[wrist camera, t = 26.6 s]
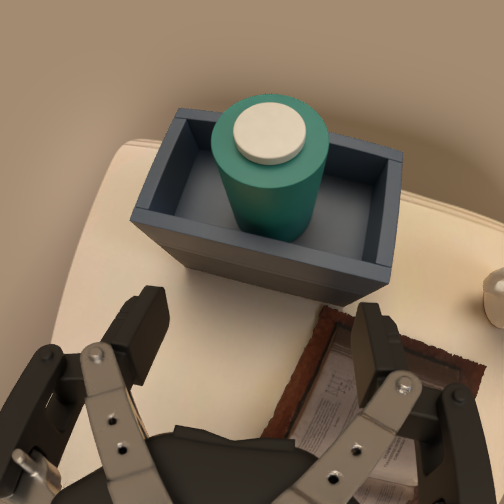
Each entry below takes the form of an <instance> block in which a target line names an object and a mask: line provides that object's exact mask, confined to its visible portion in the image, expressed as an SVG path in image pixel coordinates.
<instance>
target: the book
mask: <svg viewBox="0 0 504 504" xmlns="http://www.w3.org/2000/svg"><path fill="white" fill-rule="evenodd" d="M346 314H347V313H343V312H338V310H336V309H331V308H328V306H327V305H326V306H325V305H324V307H323V309H322V311H321V313H320V315H319V321H318V323H317V325H316V327H315V328H314V331H313V336H312V338H311V339H310V341H309V343H308V345H307V346H306V348H305V350H304V352H303V354H302V356H301V358H300V360H299V363H298V365H297V367H296V369H295V371H294V373H293V375H292V376H291V380H290V382H289V384H288V385H287V386H286V388H285V391H284V393H283V395H282V397H281V399H280V401H279V403H278V405H277V407H276V410H275V412H274V417H273V418H272V419H270V421H269V424H268V426H267V428H265V429H264V431H263V433H262V435H261V437H260V438H263V437H268V438H282V439H295V447H297V448H301V449H303V450H306V451H308V452H310V453H312V454H314V455H315V456H316V457H318V458H320V456H321V455H322V454H323V453H324V452H325V451H326V450H327V449H328V448H329V446H330V445H331V444H332V443H333V442H334V441H335V440H336V438H337V437H338V436H339V435H340V434H341V433H342V431H343V430H344V429H345V428H346V427H347V425H348V424H349V423H350V422H351V421H352V419H353V418H354V417H355V416H356V415H357V413H359V412H362V410H363V409H364V408H360V409H359V405H358V396H357V388H356V379H355V371H354V364H353V356H352V349H351V332H352V327H353V324H354V320H355V317H352V316H351V315H349V314H348V315H346ZM399 336H400V338H401V344H402V345H403V348H404V352H405V355H406V359H407V362H408V366H409V369H410V372H412V373H413V374H415V375H416V376H417V377H418V378H419V380H420V381H421V384H422V385H424V386H426V387H430V388H435V389H439V390H443V389H444V388H445V386H447V385H448V384H450V383H461V384H464V385H465V386H467V387H468V388H469V389H470V390H471V391H472V393H473V395H474V398H476V396H477V395H476V394H477V393H478V392H477V391H478V390H479V385H480V383H481V379H482V376H483V375H484V371H485V368H486V367H487V366H485V365H482V364H479V365H478V363H475V362H474V361H473V362H471V361H469V359H463V358H462V357H461V356H460V357H459V356H458V355H455V354H454V355H453V356H452V354H449V353H447V351H445V350H443V349H441V348H438V349H437V348H436V347H435V346H428V345H427V344H424V342H421V341H418V340H415V339H413V338H412V339H411V338H409V337H407V336H404V335H402V336H401V334H399ZM353 496H354V498H355V499H356V500H357V501H358V502H359V503H360V504H419V495H418V478H417V465H416V454H415V444H414V440H413V439H408V438H404V437H399V436H396V437H395V438H394V440H393V442H392V443H391V445H390V446H389V448H388V449H387V451H386V452H385V453H384V455H383V456H382V458H381V459H380V461H379V462H378V463H377V465H376V466H375V468H374V469H373V470H372V472H371V473H370V474H369V476H368V477H367V478H366V480H365V481H364V482H363V484H362V485H361V486H360V487H359V489H358V490H357V491H356V493H355V494H354V495H353Z"/></svg>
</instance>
